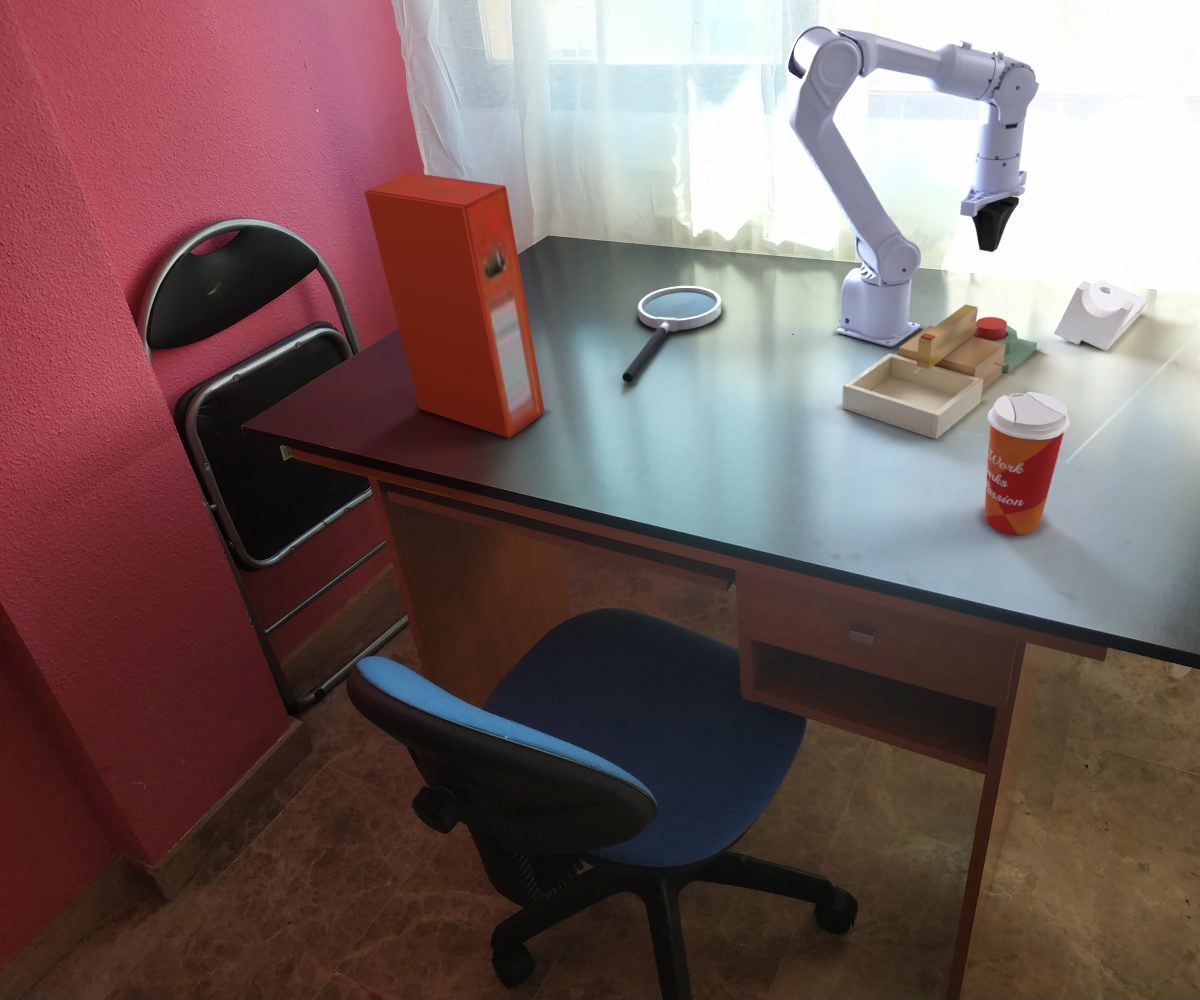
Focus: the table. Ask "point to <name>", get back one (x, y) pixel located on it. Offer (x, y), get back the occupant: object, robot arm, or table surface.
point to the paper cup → (1022, 459)
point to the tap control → (1015, 349)
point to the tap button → (991, 328)
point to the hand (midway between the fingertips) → (988, 249)
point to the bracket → (1099, 314)
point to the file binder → (458, 298)
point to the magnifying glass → (673, 316)
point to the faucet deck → (965, 357)
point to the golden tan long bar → (946, 336)
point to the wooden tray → (912, 395)
